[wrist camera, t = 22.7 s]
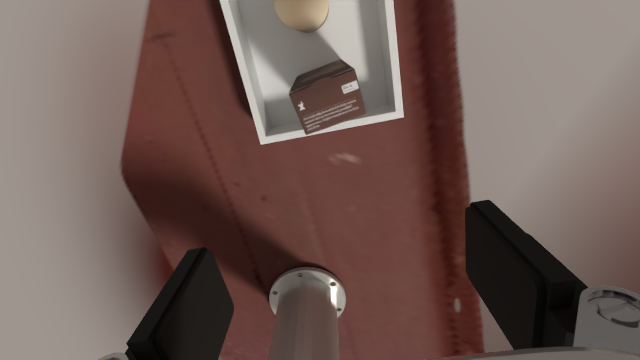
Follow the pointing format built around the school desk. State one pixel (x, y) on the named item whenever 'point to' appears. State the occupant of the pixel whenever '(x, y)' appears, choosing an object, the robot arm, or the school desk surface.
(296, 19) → the beige piece
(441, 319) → the school desk surface
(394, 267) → the school desk surface
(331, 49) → the tote
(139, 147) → the school desk surface
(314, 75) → the box
